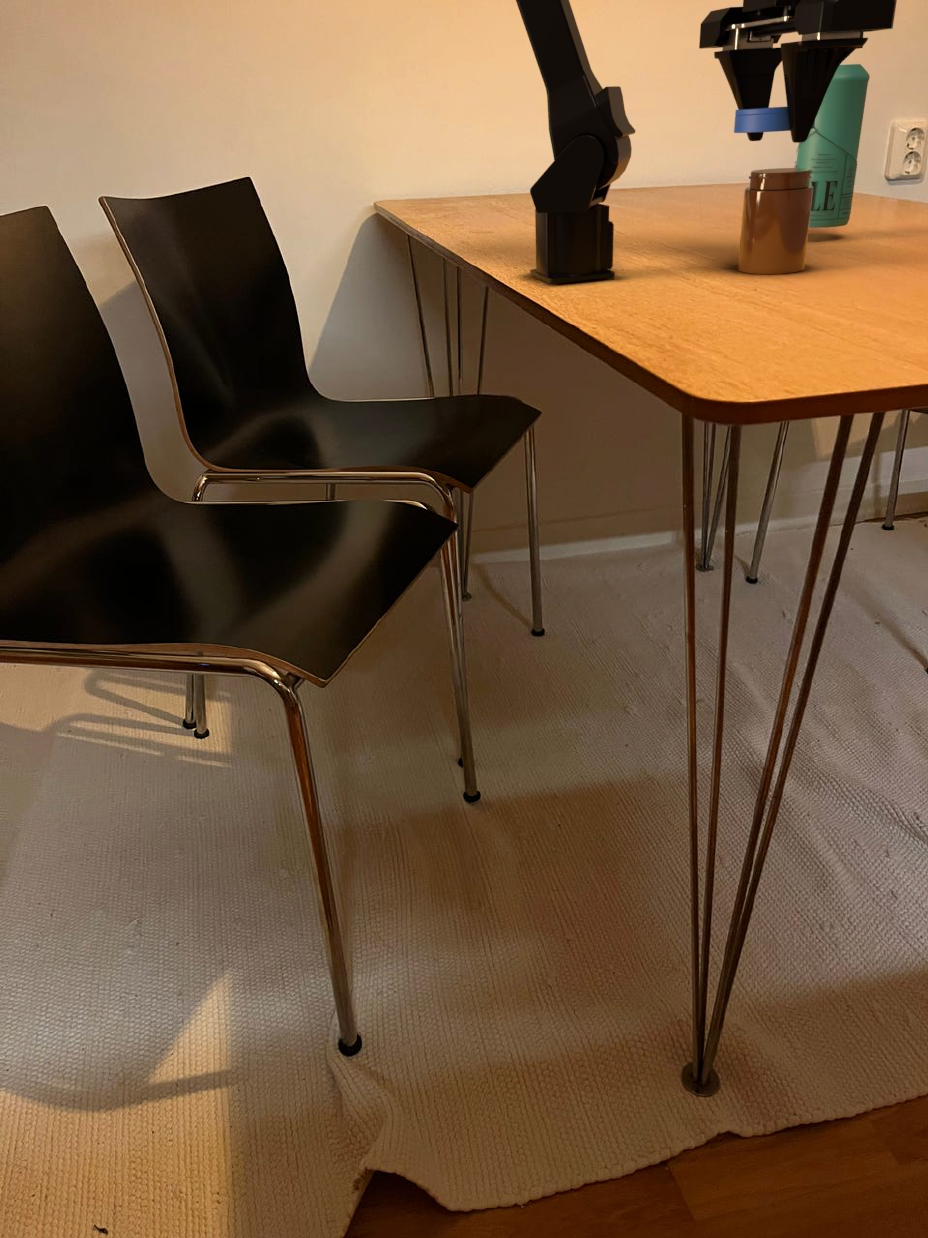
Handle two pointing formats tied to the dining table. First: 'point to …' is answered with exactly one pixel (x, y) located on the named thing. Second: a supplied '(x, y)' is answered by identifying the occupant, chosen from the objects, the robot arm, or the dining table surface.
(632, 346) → the dining table surface
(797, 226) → the jar
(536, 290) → the dining table surface
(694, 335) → the dining table surface
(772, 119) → the jar lid
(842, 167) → the beverage bottle
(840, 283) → the dining table surface
